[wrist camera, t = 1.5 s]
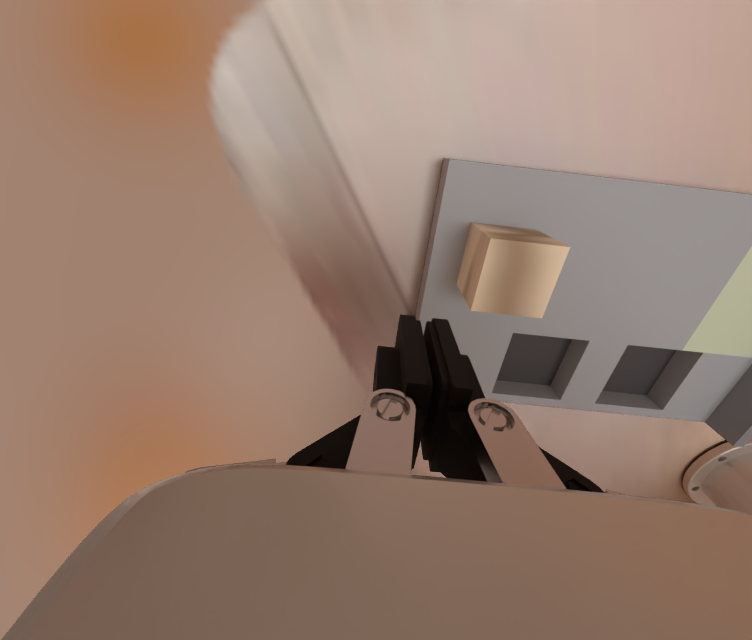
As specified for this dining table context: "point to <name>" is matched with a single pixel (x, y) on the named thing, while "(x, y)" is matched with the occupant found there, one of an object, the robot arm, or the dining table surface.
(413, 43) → the dining table surface
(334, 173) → the dining table surface
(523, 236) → the block
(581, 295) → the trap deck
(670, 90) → the dining table surface
